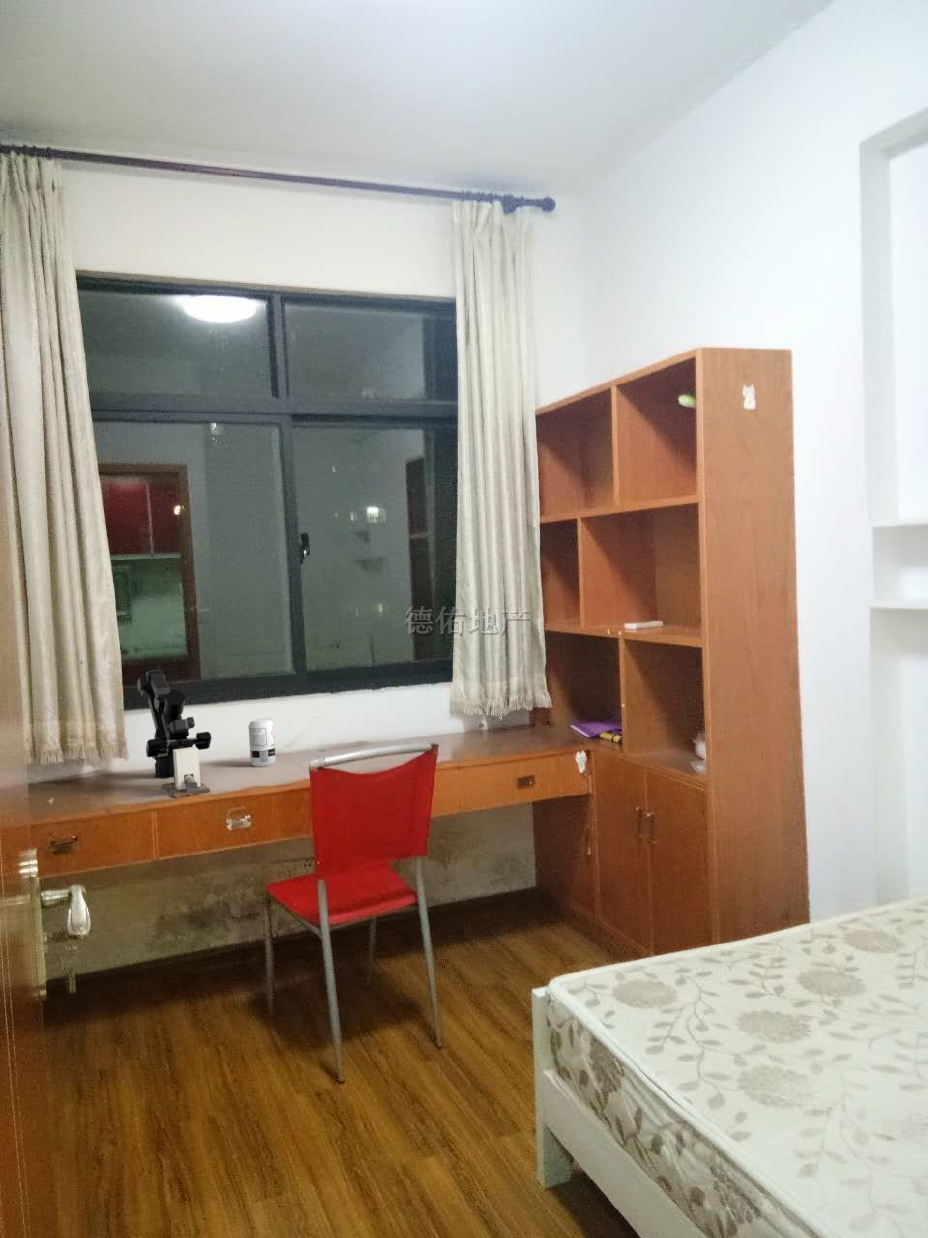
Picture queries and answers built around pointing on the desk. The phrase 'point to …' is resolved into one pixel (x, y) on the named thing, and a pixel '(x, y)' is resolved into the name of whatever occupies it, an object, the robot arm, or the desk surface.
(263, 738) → the supplement can
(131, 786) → the desk surface
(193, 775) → the white upright block
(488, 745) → the desk surface
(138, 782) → the desk surface
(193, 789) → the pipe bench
